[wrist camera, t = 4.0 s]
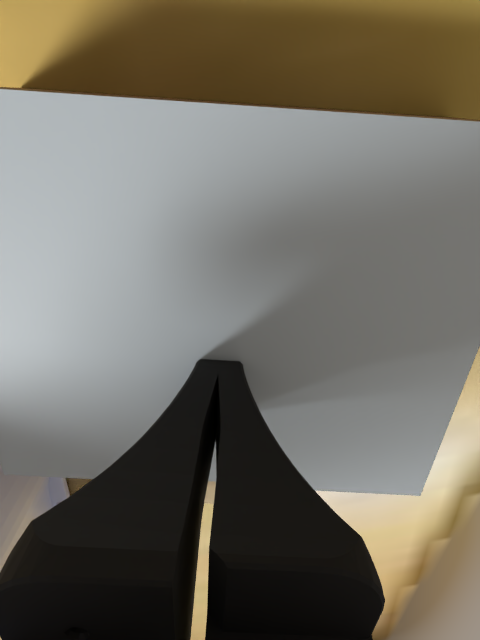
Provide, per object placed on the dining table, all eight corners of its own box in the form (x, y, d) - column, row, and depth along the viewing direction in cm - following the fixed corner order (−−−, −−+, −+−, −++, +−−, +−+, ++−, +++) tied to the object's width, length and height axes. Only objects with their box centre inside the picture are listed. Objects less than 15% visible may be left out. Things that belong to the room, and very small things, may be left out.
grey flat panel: (407, 499, 15) (412, 513, 15) (17, 480, 15) (9, 493, 15) (547, 127, 9) (566, 127, 9) (-96, 83, 9) (-117, 81, 9)
